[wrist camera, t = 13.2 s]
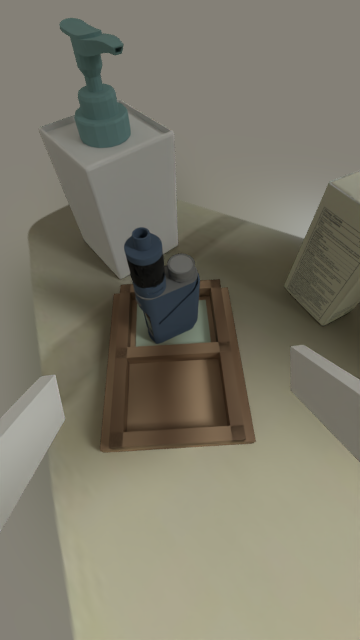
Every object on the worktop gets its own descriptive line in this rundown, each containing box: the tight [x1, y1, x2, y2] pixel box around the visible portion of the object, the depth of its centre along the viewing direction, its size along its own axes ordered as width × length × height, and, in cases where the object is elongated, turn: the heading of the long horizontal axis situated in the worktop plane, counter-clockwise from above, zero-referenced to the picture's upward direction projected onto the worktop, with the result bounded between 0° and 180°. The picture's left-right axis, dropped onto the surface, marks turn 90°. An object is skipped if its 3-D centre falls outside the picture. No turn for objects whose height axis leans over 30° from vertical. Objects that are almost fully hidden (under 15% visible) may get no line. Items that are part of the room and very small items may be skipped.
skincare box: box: [284, 170, 360, 326], centre depth 24 cm, size 6×4×12 cm
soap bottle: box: [39, 18, 178, 279], centre depth 26 cm, size 9×9×19 cm
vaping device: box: [124, 227, 200, 344], centre depth 21 cm, size 3×5×12 cm, turn 117°
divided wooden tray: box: [100, 279, 256, 452], centre depth 25 cm, size 12×15×3 cm
